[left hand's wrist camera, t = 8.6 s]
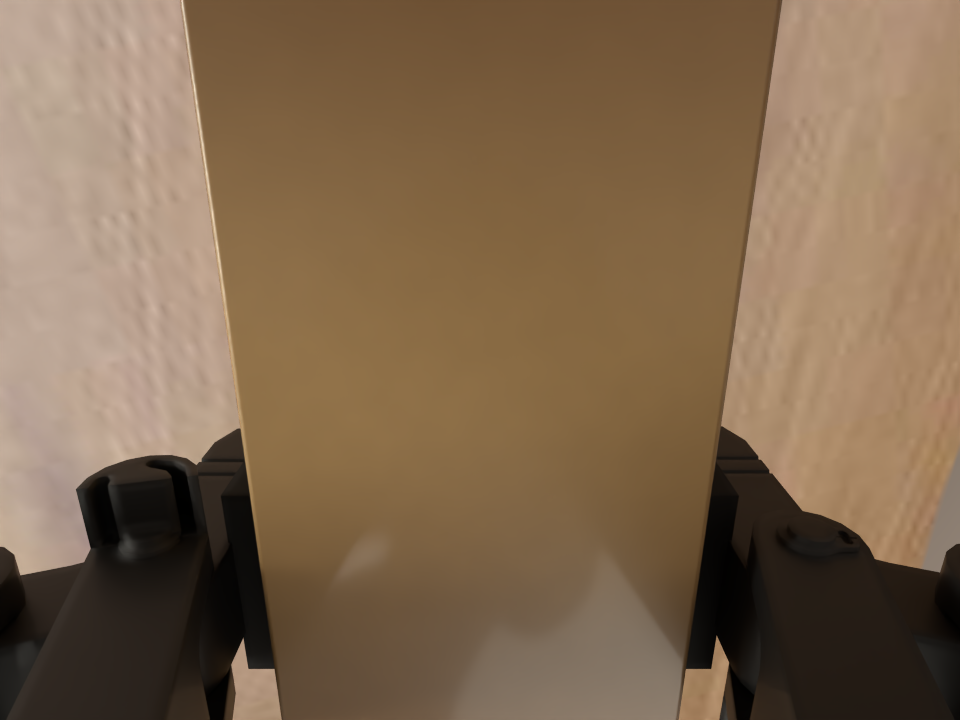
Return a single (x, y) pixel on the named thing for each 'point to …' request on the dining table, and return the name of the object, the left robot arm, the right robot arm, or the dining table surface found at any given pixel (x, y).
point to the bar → (480, 335)
